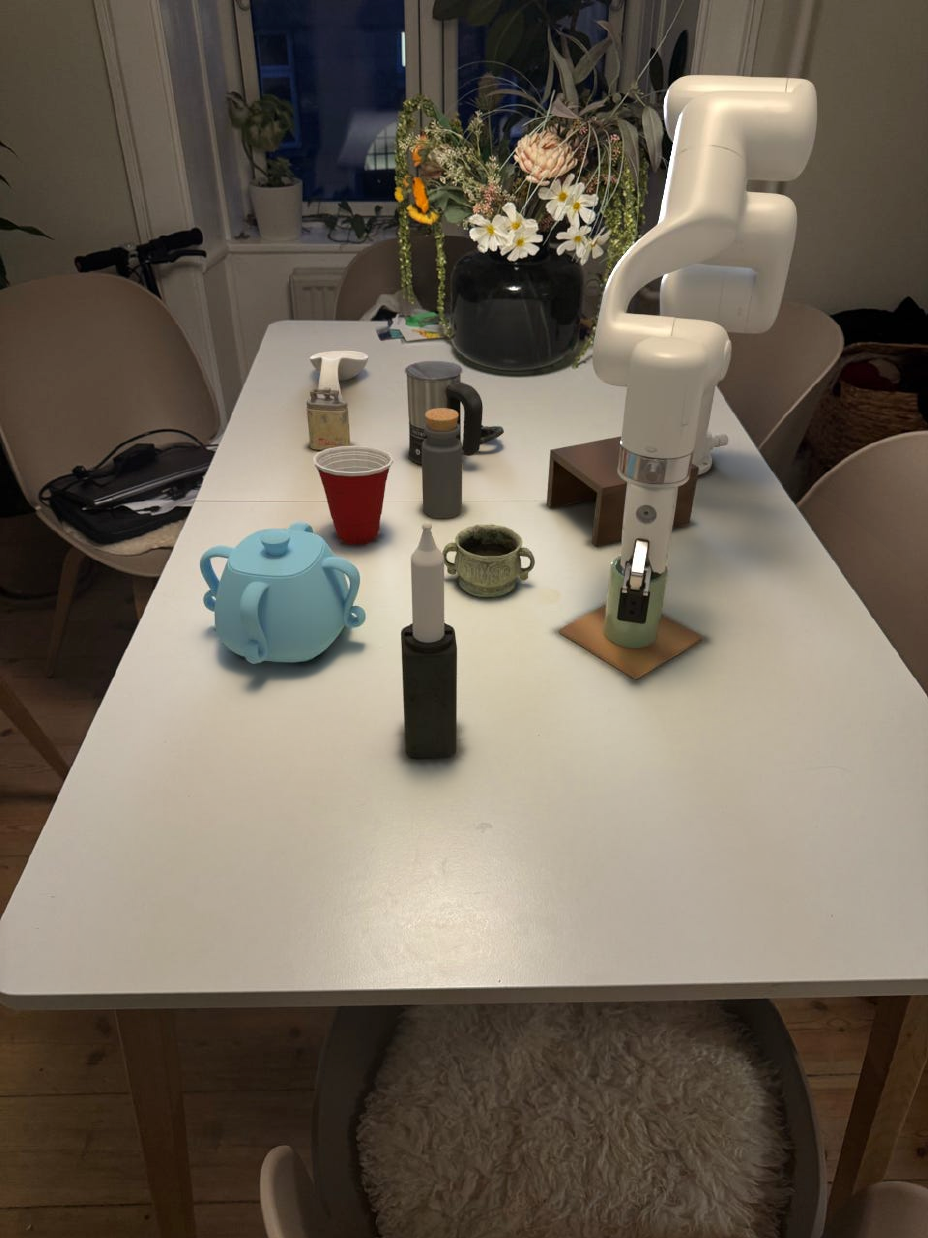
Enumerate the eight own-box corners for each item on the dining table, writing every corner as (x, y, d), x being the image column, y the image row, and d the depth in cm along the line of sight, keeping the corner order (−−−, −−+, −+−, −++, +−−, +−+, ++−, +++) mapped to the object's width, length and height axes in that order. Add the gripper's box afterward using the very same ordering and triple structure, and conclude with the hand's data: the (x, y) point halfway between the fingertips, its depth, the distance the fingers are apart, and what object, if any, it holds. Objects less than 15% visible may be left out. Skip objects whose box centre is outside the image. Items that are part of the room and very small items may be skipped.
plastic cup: (408, 523, 127) (405, 446, 121) (378, 559, 119) (373, 477, 112) (340, 511, 130) (334, 435, 124) (306, 545, 122) (297, 465, 115)
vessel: (437, 596, 111) (436, 553, 108) (446, 561, 119) (446, 520, 115) (531, 603, 110) (534, 560, 107) (534, 567, 118) (537, 526, 114)
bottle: (457, 520, 128) (457, 423, 120) (418, 516, 129) (416, 419, 121) (465, 503, 133) (466, 407, 125) (427, 499, 134) (426, 404, 126)
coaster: (624, 597, 112) (625, 594, 111) (702, 640, 104) (702, 636, 104) (558, 632, 105) (558, 628, 105) (635, 680, 98) (636, 676, 97)
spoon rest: (315, 365, 185) (312, 331, 181) (370, 366, 185) (369, 331, 181) (300, 406, 166) (296, 369, 161) (362, 406, 166) (360, 369, 162)
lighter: (353, 444, 151) (349, 387, 145) (347, 453, 148) (343, 395, 142) (313, 441, 152) (307, 385, 146) (306, 450, 149) (301, 393, 143)
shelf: (634, 486, 139) (641, 432, 134) (689, 524, 128) (699, 467, 123) (546, 505, 133) (550, 449, 128) (596, 546, 122) (602, 488, 117)
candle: (404, 725, 91) (396, 509, 77) (453, 723, 91) (454, 507, 77) (405, 760, 87) (397, 538, 73) (457, 757, 87) (458, 536, 73)
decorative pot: (377, 654, 101) (372, 551, 94) (240, 694, 95) (223, 587, 87) (327, 587, 113) (319, 491, 105) (202, 618, 107) (184, 518, 99)
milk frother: (397, 461, 145) (394, 373, 137) (435, 428, 158) (435, 345, 149) (477, 476, 141) (479, 386, 133) (510, 440, 153) (514, 356, 145)
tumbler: (637, 612, 108) (646, 548, 103) (668, 640, 103) (679, 574, 98) (592, 625, 106) (600, 560, 100) (622, 654, 101) (632, 587, 96)
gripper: (687, 501, 84) (662, 645, 94) (695, 433, 98) (673, 565, 108) (609, 491, 86) (593, 634, 96) (627, 426, 100) (611, 557, 109)
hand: (635, 597), depth 102 cm, fingers open, 9 cm apart
